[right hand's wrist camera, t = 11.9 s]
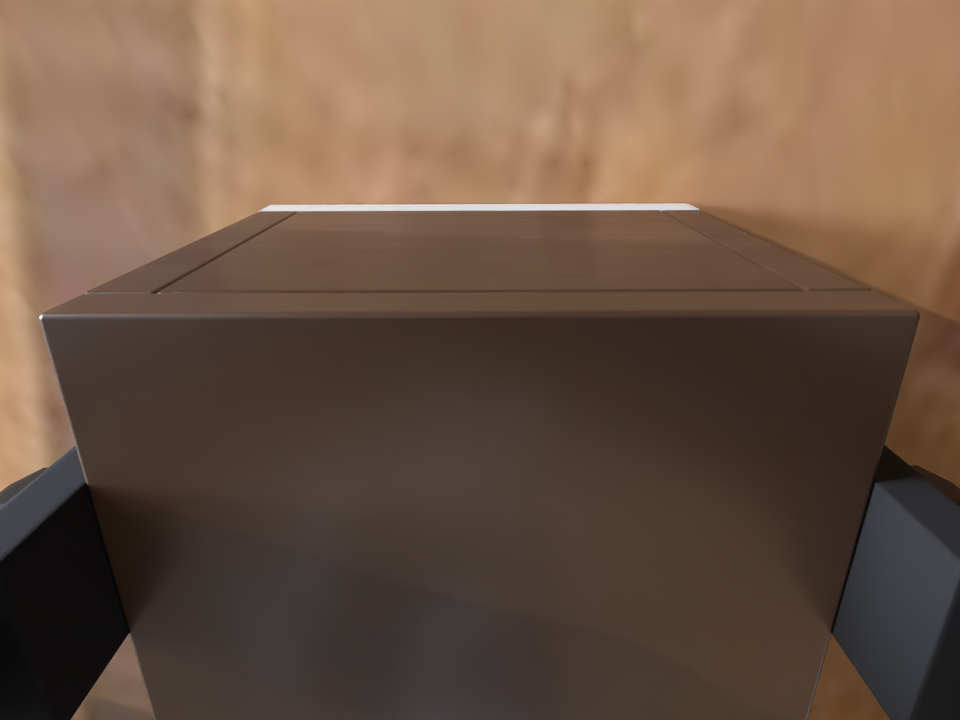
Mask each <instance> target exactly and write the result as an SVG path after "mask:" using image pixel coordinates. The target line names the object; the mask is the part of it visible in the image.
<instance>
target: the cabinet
mask: <svg viewBox="0 0 960 720" xmlns="http://www.w3.org/2000/svg"><path fill="white" fill-rule="evenodd" d="M919 318H920V314H919V312H918V311H917V310H915V309H913V308H910V307H908V306H906V305H904V304H902V303H899V302H897V301H895V300H893V299H891V298H889V297H886V296H884V295H882V294H880V293H878V292H875V291H871V290H870V289H868V288H866V287H864V286H862V285H859V284H857V283H855V282H853V281H851V280H848V279H846V278H844V277H842V276H840V275H838V274H835V273H833V272H831V271H829V270H827V269H825V268H822V267H820V266H818V265H816V264H814V263H811V262H809V261H807V260H805V259H803V258H801V257H798V256H796V255H794V254H792V253H790V252H788V251H785V250H783V249H781V248H779V247H777V246H774V245H772V244H770V243H768V242H766V241H764V240H761V239H759V238H757V237H755V236H753V235H750V234H748V233H746V232H744V231H742V230H740V229H737V228H735V227H733V226H731V225H729V224H727V223H724V222H722V221H720V220H718V219H716V218H713V217H711V216H709V215H707V214H705V213H703V212H700V209H698V208H696V207H694V206H692V205H689V204H402V205H270V206H268V207H266V208H263V209H261V210H259V211H258V213H256V214H253V215H251V216H249V217H247V218H245V219H243V220H240V221H238V222H236V223H234V224H232V225H230V226H228V227H225V228H223V229H221V230H219V231H217V232H215V233H212V234H210V235H208V236H206V237H204V238H202V239H200V240H197V241H195V242H193V243H191V244H189V245H187V246H184V247H182V248H180V249H178V250H176V251H174V252H171V253H169V254H167V255H165V256H163V257H161V258H159V259H156V260H154V261H152V262H150V263H148V264H146V265H143V266H141V267H139V268H137V269H135V270H133V271H131V272H128V273H126V274H124V275H122V276H120V277H118V278H115V279H113V280H111V281H109V282H107V283H105V284H102V285H100V286H98V287H96V288H94V289H92V290H90V291H87V292H86V293H85V294H83V295H81V296H79V297H76V298H74V299H72V300H70V301H68V302H66V303H64V304H61V305H59V306H57V307H55V308H53V309H51V310H48V311H46V312H44V313H42V314H41V315H40V318H39V321H40V324H41V327H42V331H43V334H44V338H45V341H46V345H47V348H48V352H49V355H50V359H51V362H52V366H53V369H54V373H55V376H56V380H57V383H58V387H59V390H60V394H61V397H62V401H63V404H64V408H65V411H66V415H67V418H68V422H69V425H70V428H71V432H72V435H73V439H74V442H75V446H76V449H77V453H78V456H79V460H80V463H81V467H82V470H83V474H84V477H85V481H86V484H87V488H88V491H89V495H90V498H91V502H92V505H93V509H94V512H95V516H96V519H97V523H98V526H99V530H100V533H101V536H102V540H103V543H104V547H105V550H106V554H107V557H108V561H109V564H110V568H111V571H112V575H113V578H114V582H115V585H116V589H117V592H118V596H119V599H120V603H121V606H122V610H123V613H124V617H125V620H126V624H127V627H128V631H129V634H130V637H131V641H132V644H133V648H134V651H135V655H136V658H137V662H138V665H139V669H140V672H141V676H142V679H143V683H144V686H145V690H146V693H147V697H148V700H149V704H150V707H151V711H152V714H153V718H154V720H807V719H808V715H809V712H810V708H811V704H812V701H813V697H814V694H815V690H816V686H817V683H818V679H819V676H820V672H821V669H822V665H823V661H824V658H825V654H826V651H827V647H828V644H829V640H830V636H831V633H832V629H833V626H834V622H835V619H836V615H837V611H838V608H839V604H840V601H841V597H842V593H843V590H844V586H845V583H846V579H847V576H848V572H849V568H850V565H851V561H852V558H853V554H854V551H855V547H856V543H857V540H858V536H859V533H860V529H861V526H862V522H863V518H864V515H865V511H866V508H867V504H868V500H869V497H870V493H871V490H872V486H873V483H874V479H875V475H876V472H877V468H878V465H879V461H880V458H881V454H882V450H883V447H884V443H885V440H886V436H887V433H888V429H889V425H890V422H891V418H892V415H893V411H894V407H895V404H896V400H897V397H898V393H899V390H900V386H901V382H902V379H903V375H904V372H905V368H906V365H907V361H908V357H909V354H910V350H911V347H912V343H913V340H914V336H915V332H916V329H917V325H918V322H919Z"/></svg>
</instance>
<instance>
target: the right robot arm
mask: <svg viewBox="0 0 960 720" xmlns="http://www.w3.org/2000/svg"><path fill="white" fill-rule="evenodd" d="M128 634H129V631H128V627H127V624H126V620H125V617H124V613H123V610H122V606H121V603H120V599H119V596H118V592H117V589H116V585H115V582H114V578H113V575H112V571H111V568H110V564H109V561H108V557H107V554H106V550H105V547H104V543H103V540H102V536H101V533H100V530H99V526H98V523H97V519H96V516H95V512H94V509H93V505H92V502H91V498H90V495H89V491H88V488H87V484H86V481H85V477H84V474H83V470H82V467H81V463H80V460H79V456H78V453H77V449H76V446H75V447H73V448H72V449H71V450H70V451H68V452H67V453H66V454H65V455H64V456H62V457H61V458H60V459H59V460H57V461H56V462H55V463H54V464H52V465H51V466H50V467H49V468H42V469H40V470H38V471H37V472H35V473H33V474H31V475H29V476H27V477H25V478H23V479H21V480H19V481H17V482H15V483H13V484H11V485H9V486H8V487H6V488H5V489H4V490H3V491H1V492H0V720H70V719H71V718H72V716H73V715H74V713H75V712H76V710H77V709H78V708H79V706H80V705H81V703H82V702H83V700H84V699H85V697H86V696H87V694H88V693H89V691H90V690H91V688H92V687H93V685H94V684H95V682H96V681H97V679H98V678H99V677H100V675H101V674H102V672H103V671H104V669H105V668H106V666H107V665H108V663H109V662H110V660H111V659H112V657H113V656H114V654H115V653H116V651H117V650H118V649H119V647H120V646H121V644H122V643H123V641H124V640H125V638H126V637H127V635H128ZM832 634H833V636H834V637H835V639H836V640H837V642H838V643H839V645H840V646H841V648H842V649H843V651H844V652H845V654H846V655H847V656H848V658H849V659H850V661H851V662H852V664H853V665H854V667H855V668H856V670H857V671H858V673H859V674H860V676H861V677H862V679H863V680H864V682H865V683H866V684H867V686H868V687H869V689H870V690H871V692H872V693H873V695H874V696H875V698H876V699H877V701H878V702H879V704H880V705H881V707H882V708H883V710H884V711H885V712H886V714H887V715H888V717H889V718H890V720H960V489H959V488H958V487H957V486H955V485H954V484H953V483H951V482H949V481H947V480H945V479H943V478H941V477H939V476H937V475H935V474H933V473H931V472H929V471H927V470H925V469H923V468H921V467H919V466H909V465H908V464H907V463H906V462H905V461H903V460H902V459H901V458H900V457H898V456H897V455H896V454H895V453H893V452H892V451H891V450H890V449H889V448H887V447H886V446H885V445H884V447H883V450H882V454H881V458H880V461H879V465H878V468H877V472H876V475H875V479H874V483H873V486H872V490H871V493H870V497H869V500H868V504H867V508H866V511H865V515H864V518H863V522H862V526H861V529H860V533H859V536H858V540H857V543H856V547H855V551H854V554H853V558H852V561H851V565H850V568H849V572H848V576H847V579H846V583H845V586H844V590H843V593H842V597H841V601H840V604H839V608H838V611H837V615H836V619H835V622H834V626H833V629H832Z"/></svg>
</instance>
